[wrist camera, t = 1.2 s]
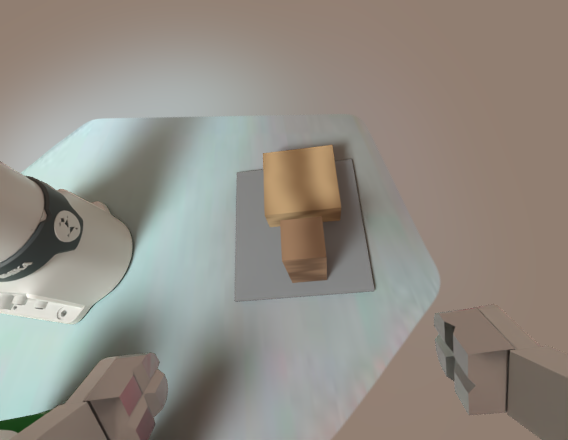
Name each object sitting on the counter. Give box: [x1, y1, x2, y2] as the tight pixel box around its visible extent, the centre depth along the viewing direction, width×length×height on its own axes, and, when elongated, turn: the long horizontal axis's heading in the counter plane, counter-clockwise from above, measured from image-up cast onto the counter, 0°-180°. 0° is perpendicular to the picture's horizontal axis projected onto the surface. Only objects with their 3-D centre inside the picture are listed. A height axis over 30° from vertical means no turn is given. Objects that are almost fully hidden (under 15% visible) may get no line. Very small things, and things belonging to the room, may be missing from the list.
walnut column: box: [280, 216, 327, 283], centre depth 36 cm, size 4×4×10 cm
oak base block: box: [263, 145, 341, 227], centre depth 44 cm, size 10×10×4 cm
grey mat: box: [235, 159, 374, 302], centre depth 44 cm, size 18×20×1 cm
